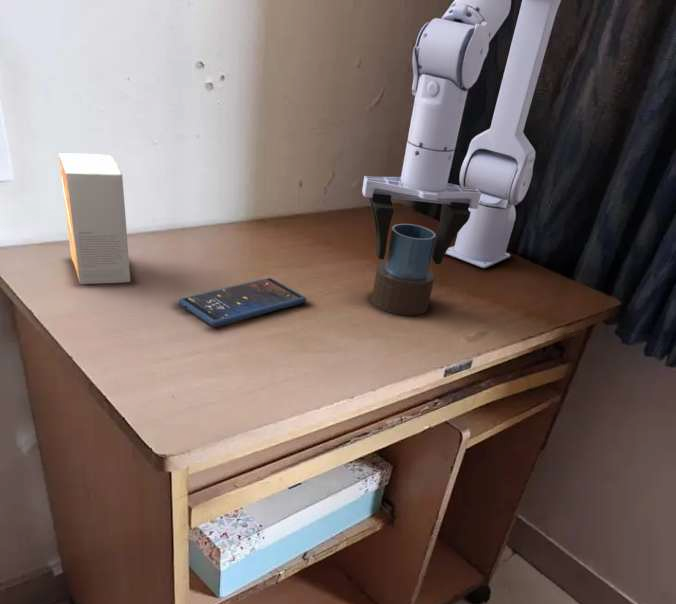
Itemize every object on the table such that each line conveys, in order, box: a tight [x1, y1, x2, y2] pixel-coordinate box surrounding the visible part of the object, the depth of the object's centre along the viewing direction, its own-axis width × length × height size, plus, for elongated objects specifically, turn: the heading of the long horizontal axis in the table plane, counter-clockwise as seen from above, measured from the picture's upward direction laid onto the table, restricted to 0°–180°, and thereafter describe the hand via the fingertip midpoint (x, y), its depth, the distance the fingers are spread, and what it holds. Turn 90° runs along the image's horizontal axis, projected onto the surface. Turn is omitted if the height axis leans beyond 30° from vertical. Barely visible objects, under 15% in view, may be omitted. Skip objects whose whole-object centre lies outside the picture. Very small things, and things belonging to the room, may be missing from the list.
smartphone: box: [178, 277, 307, 328], centre depth 84 cm, size 8×1×15 cm
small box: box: [58, 153, 131, 285], centre depth 82 cm, size 8×6×13 cm
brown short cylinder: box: [371, 260, 435, 317], centre depth 90 cm, size 8×8×4 cm
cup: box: [385, 223, 437, 280], centre depth 86 cm, size 6×6×5 cm
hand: (408, 258), depth 87 cm, fingers open, 7 cm apart
